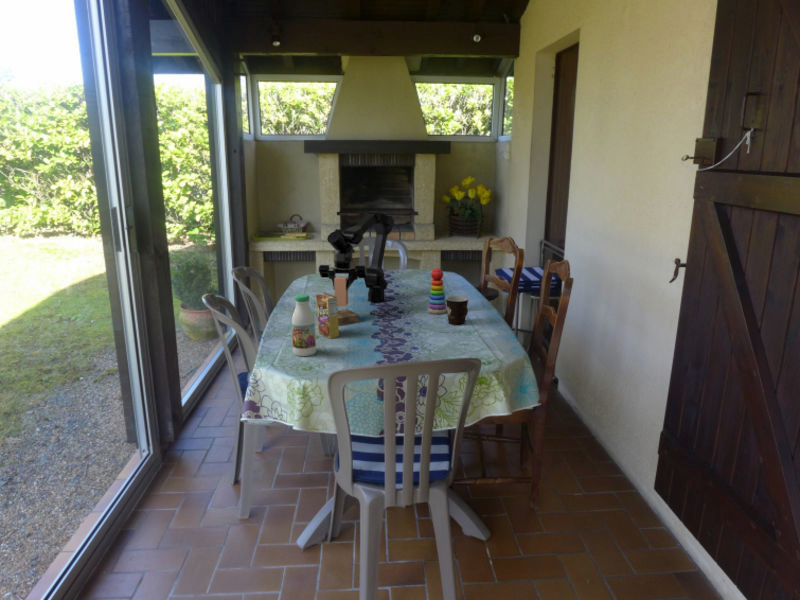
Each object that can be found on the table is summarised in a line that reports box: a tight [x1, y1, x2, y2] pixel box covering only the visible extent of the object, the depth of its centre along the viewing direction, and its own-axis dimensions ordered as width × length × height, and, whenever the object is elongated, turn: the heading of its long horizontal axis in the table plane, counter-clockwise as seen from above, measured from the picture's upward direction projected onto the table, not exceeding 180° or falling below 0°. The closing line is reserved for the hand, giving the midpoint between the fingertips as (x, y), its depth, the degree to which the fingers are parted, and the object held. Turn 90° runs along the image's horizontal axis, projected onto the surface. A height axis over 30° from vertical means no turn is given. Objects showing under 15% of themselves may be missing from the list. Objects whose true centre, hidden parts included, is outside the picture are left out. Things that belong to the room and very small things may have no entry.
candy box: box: [315, 292, 340, 339], centre depth 204 cm, size 9×4×15 cm, turn 37°
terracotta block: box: [333, 276, 349, 307], centre depth 220 cm, size 4×4×11 cm
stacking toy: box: [427, 268, 447, 315], centre depth 232 cm, size 8×8×19 cm
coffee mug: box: [445, 295, 469, 326], centre depth 217 cm, size 12×9×10 cm
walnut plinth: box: [338, 308, 360, 327], centre depth 222 cm, size 10×10×3 cm
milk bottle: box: [291, 293, 317, 357], centre depth 185 cm, size 8×8×20 cm
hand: (340, 289), depth 218 cm, fingers closed on terracotta block, 4 cm apart
